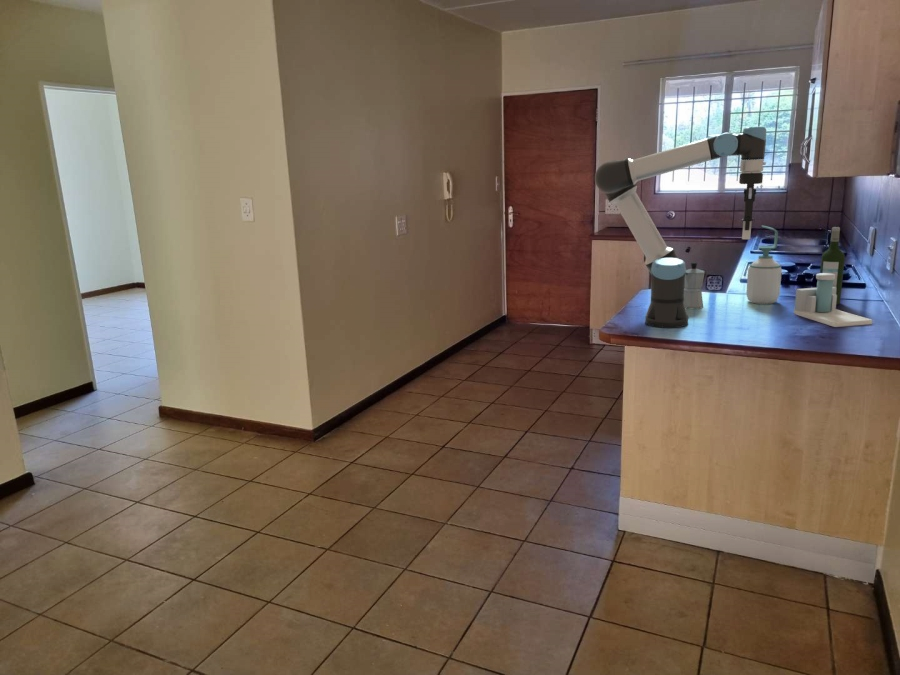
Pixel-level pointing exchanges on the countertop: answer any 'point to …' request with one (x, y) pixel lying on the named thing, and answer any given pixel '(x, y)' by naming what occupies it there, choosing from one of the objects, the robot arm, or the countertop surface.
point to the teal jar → (824, 291)
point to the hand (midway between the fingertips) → (746, 239)
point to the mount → (834, 318)
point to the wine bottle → (834, 262)
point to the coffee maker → (693, 287)
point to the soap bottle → (764, 276)
